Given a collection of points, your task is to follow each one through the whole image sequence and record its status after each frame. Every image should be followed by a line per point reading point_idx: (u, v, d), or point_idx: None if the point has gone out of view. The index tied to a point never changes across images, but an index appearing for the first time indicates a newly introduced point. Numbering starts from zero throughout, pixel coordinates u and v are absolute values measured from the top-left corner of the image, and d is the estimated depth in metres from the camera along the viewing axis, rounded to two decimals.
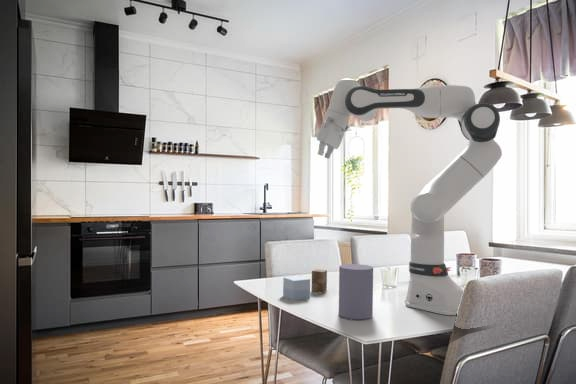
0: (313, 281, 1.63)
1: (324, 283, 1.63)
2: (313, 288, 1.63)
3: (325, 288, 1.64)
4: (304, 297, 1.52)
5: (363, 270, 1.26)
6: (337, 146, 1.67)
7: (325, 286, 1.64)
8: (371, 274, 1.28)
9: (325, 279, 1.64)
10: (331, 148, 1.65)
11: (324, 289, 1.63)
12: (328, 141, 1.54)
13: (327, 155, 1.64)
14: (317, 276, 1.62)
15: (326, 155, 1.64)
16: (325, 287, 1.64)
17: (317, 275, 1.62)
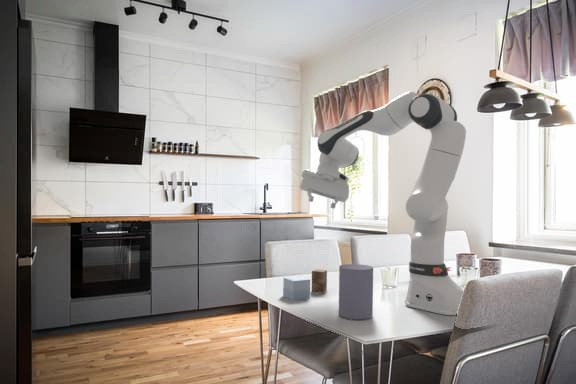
0: (313, 281, 1.63)
1: (324, 283, 1.63)
2: (313, 288, 1.63)
3: (325, 288, 1.64)
4: (304, 297, 1.52)
5: (363, 270, 1.26)
6: (342, 195, 1.73)
7: (325, 286, 1.64)
8: (371, 274, 1.28)
9: (325, 279, 1.64)
10: (335, 198, 1.73)
11: (324, 289, 1.63)
12: (310, 186, 1.71)
13: (331, 204, 1.72)
14: (317, 276, 1.62)
15: (331, 205, 1.72)
16: (325, 287, 1.64)
17: (317, 275, 1.62)
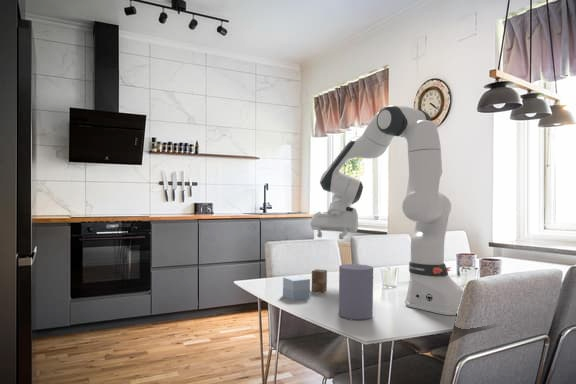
0: (313, 281, 1.63)
1: (324, 283, 1.63)
2: (313, 288, 1.63)
3: (325, 288, 1.64)
4: (304, 297, 1.52)
5: (363, 270, 1.26)
6: (349, 225, 1.75)
7: (325, 286, 1.64)
8: (371, 274, 1.28)
9: (325, 279, 1.64)
10: None
11: (324, 289, 1.63)
12: (318, 223, 1.81)
13: None
14: (317, 276, 1.62)
15: None
16: (325, 287, 1.64)
17: (317, 275, 1.62)
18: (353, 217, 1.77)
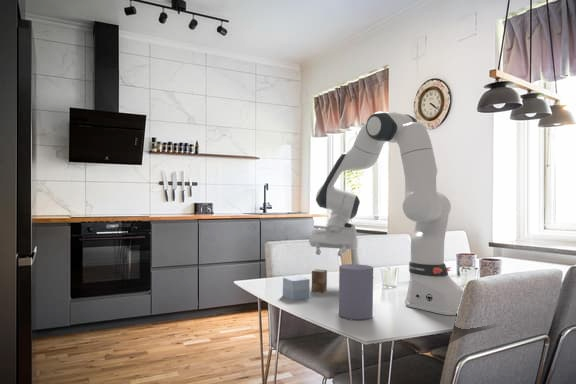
0: (313, 281, 1.63)
1: (324, 283, 1.63)
2: (313, 288, 1.63)
3: (325, 288, 1.64)
4: (304, 297, 1.52)
5: (363, 270, 1.26)
6: (348, 242, 1.73)
7: (325, 286, 1.64)
8: (371, 274, 1.28)
9: (325, 279, 1.64)
10: None
11: (324, 289, 1.63)
12: (316, 240, 1.79)
13: None
14: (317, 276, 1.62)
15: None
16: (325, 287, 1.64)
17: (317, 275, 1.62)
18: (352, 234, 1.76)
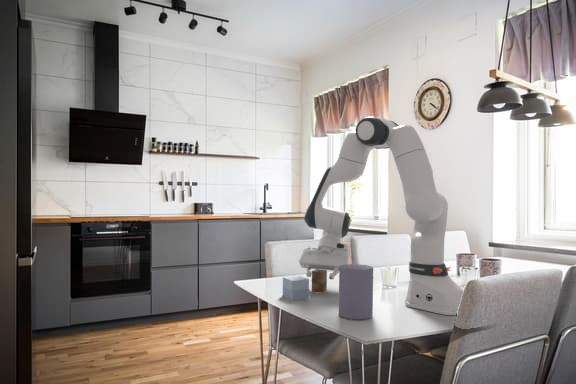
0: (313, 281, 1.63)
1: (324, 283, 1.63)
2: (313, 288, 1.63)
3: (325, 288, 1.64)
4: (303, 297, 1.52)
5: (363, 270, 1.26)
6: (340, 264, 1.64)
7: (325, 286, 1.64)
8: (371, 274, 1.28)
9: (325, 279, 1.64)
10: None
11: (324, 289, 1.63)
12: (307, 261, 1.70)
13: None
14: (317, 276, 1.62)
15: None
16: (325, 287, 1.64)
17: (317, 275, 1.62)
18: (344, 255, 1.66)
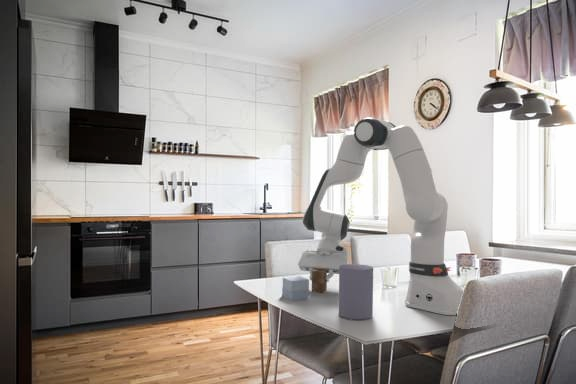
0: (313, 281, 1.63)
1: (324, 283, 1.63)
2: (313, 288, 1.63)
3: (325, 288, 1.64)
4: (303, 297, 1.52)
5: (363, 270, 1.26)
6: None
7: (325, 286, 1.64)
8: (371, 274, 1.28)
9: None
10: None
11: (324, 289, 1.63)
12: (306, 264, 1.69)
13: None
14: (317, 275, 1.62)
15: None
16: (325, 286, 1.64)
17: (317, 275, 1.62)
18: (343, 258, 1.65)
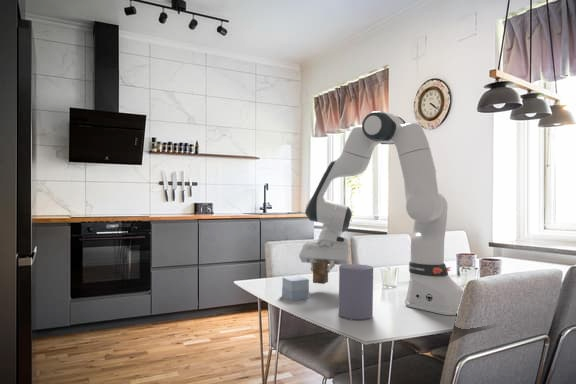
0: (314, 272, 1.63)
1: (325, 274, 1.63)
2: (314, 279, 1.63)
3: (326, 279, 1.64)
4: (303, 297, 1.52)
5: (363, 270, 1.26)
6: (341, 257, 1.63)
7: (326, 277, 1.64)
8: (371, 274, 1.28)
9: None
10: None
11: (325, 280, 1.63)
12: (307, 255, 1.69)
13: None
14: (318, 266, 1.62)
15: None
16: (326, 277, 1.64)
17: (318, 266, 1.62)
18: (344, 248, 1.65)
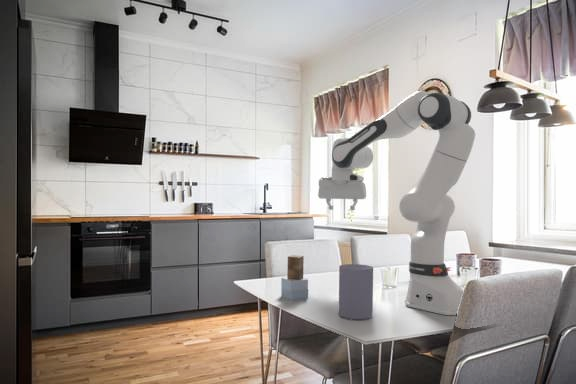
0: (289, 267, 1.53)
1: (301, 269, 1.53)
2: (289, 275, 1.52)
3: (302, 275, 1.54)
4: (302, 297, 1.52)
5: (363, 270, 1.26)
6: (358, 196, 1.74)
7: (302, 272, 1.54)
8: (371, 274, 1.28)
9: (302, 265, 1.54)
10: None
11: (301, 276, 1.53)
12: (326, 196, 1.80)
13: None
14: (293, 261, 1.52)
15: None
16: (301, 273, 1.54)
17: (293, 261, 1.52)
18: (359, 186, 1.74)
